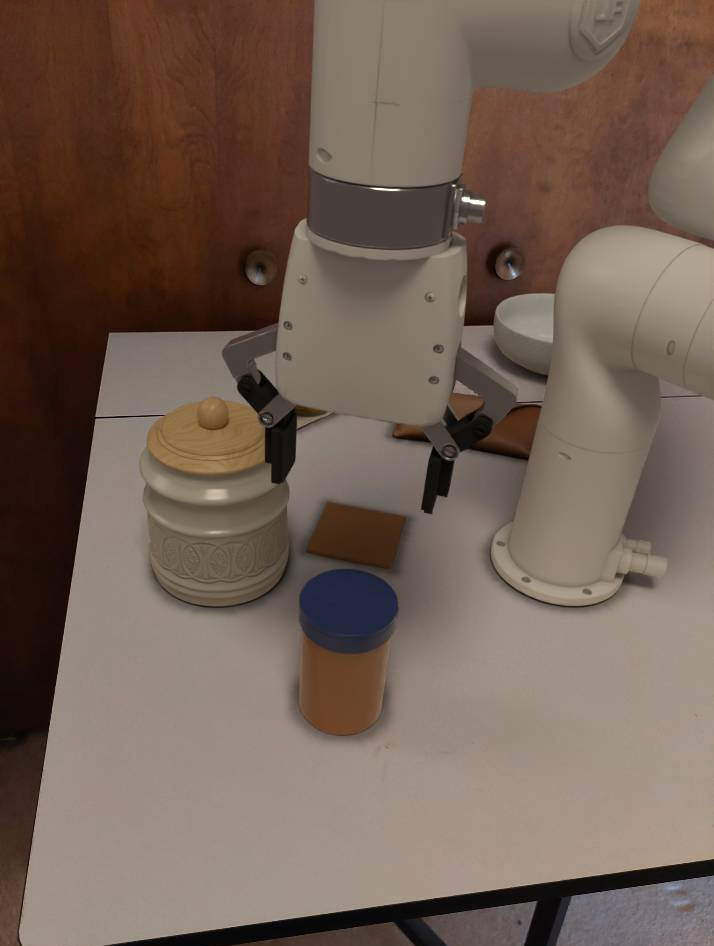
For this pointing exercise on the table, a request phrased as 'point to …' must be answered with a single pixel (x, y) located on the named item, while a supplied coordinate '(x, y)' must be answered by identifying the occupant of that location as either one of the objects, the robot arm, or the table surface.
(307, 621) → the lid
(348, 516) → the coaster
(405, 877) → the table surface
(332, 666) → the jam jar
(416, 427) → the sunglasses case
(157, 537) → the jar
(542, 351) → the cereal bowl
